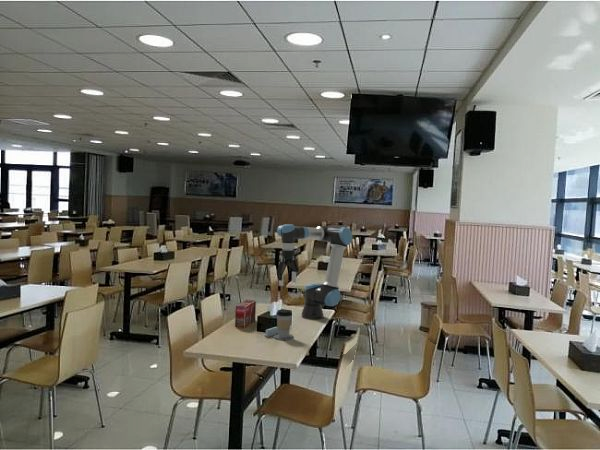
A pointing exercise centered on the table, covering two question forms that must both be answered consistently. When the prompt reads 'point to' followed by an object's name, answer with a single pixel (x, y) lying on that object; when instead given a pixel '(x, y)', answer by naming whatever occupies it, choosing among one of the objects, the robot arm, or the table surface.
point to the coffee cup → (283, 322)
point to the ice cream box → (245, 313)
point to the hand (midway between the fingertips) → (287, 283)
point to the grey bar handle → (271, 331)
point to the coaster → (283, 338)
